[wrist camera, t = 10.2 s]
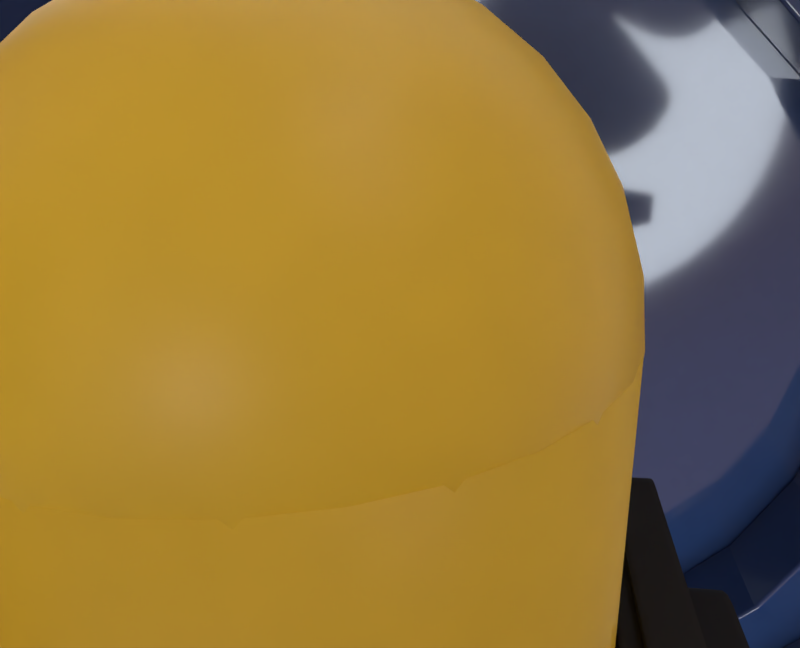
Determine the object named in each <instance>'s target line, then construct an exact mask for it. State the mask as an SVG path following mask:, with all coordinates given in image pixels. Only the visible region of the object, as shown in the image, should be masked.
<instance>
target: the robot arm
mask: <svg viewBox="0 0 800 648" xmlns="http://www.w3.org/2000/svg"><path fill="white" fill-rule="evenodd" d="M615 648H750V647H749V645H748V642H747V640H746V637H745V634H744V632H743V629H742V627H741V624H740V622H739V619H738V617H737V614H736V612H735V609H734V606H733V604H732V602H731V600H730V598H729V596H728V595H727V594H726V593H725V592H724V591H723V590H712V589H700V588H688V587H687V584H686V580H685V577H684V574H683V571H682V568H681V565H680V562H679V559H678V555H677V552H676V549H675V546H674V543H673V540H672V537H671V534H670V530H669V527H668V524H667V521H666V518H665V515H664V512H663V509H662V506H661V502H660V499H659V496H658V493H657V490H656V487H655V484H654V482H653V480H652V479H651V478H634V477H632V481H631V491H630V501H629V511H628V521H627V531H626V542H625V552H624V562H623V572H622V582H621V592H620V603H619V613H618V623H617V633H616V643H615Z"/></svg>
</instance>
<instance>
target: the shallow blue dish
mask: <svg viewBox="0 0 800 648" xmlns="http://www.w3.org/2000/svg"><path fill="white" fill-rule="evenodd" d="M50 1H52V0H0V43H1V42H2V41H3V40H4V39H5V38H6V37H7V36H8V35H9V34H10V33H11V32H12V31H13V30H14V29H15V28H16V27H17V26H18V25H19V24H20V23H21V22H22V21H23V20H24V19H25V18H26V17H28V16H29V15H30V14H31V13H32V12H33V11H35V10H36V9H38V8H40V7H42V6H43V5H45V4H47V3H48V2H50ZM475 1H477V2H479V3H480V4H482V5H484V6H485V7H486V8H487V9H488V10H489V11H491V12H492V13H493V14H494V15H495V16H496V17H498V18H499V19H500V20H501V21H502V22H503V23H505V24H506V25H507V26H508V27H509V28H510V29H512V30H513V31H514V32H515V33H516V34H518V35H519V36H520V37H521V38H522V39H523V40H525V41H526V42H527V43H528V44H529V45H530V46H532V47H533V48H534V49H535V50H536V51H537V52H539V53H540V54H541V55H542V56H543V57H544V58H545V59H546V61H547V62H548V63H549V65H550V66H551V67H552V69H553V70H554V71H555V73H556V74H557V75H558V76H559V78H560V79H561V80H562V82H563V83H564V84H565V86H566V87H567V88H568V89H569V91H570V92H571V93H572V95H573V96H574V97H575V99H576V100H577V101H578V103H579V104H580V105H581V106H582V108H583V109H584V110H585V112H586V113H587V114H588V116H589V117H590V118H591V120H592V122H593V124H594V127H595V129H596V131H597V133H598V135H599V137H600V139H601V141H602V143H603V146H604V148H605V150H606V152H607V154H608V156H609V158H610V160H611V162H612V165H613V167H614V169H615V171H616V173H617V175H618V177H619V179H620V181H621V183H622V186H623V189H624V193H625V197H626V202H627V206H628V210H629V214H630V219H631V223H632V227H633V231H634V236H635V240H636V244H637V249H638V253H639V257H640V262H641V266H642V271H643V275H644V317H645V354H644V359H643V369H642V379H641V389H640V399H639V409H638V420H637V430H636V440H635V450H634V460H633V470H632V477H634V478H651V479H652V480H653V482H654V484H655V487H656V490H657V493H658V496H659V499H660V502H661V506H662V509H663V512H664V515H665V518H666V521H667V524H668V527H669V530H670V534H671V537H672V540H673V543H674V546H675V549H676V552H677V555H678V559H679V562H680V565H681V568H682V571H683V574H684V577H685V580H686V584H687V587H688V588H700V589H712V590H723V591H724V592H725V593H726V594H727V595H728V596H729V598H730V600H731V602H732V604H733V606H734V609H735V612H736V614H737V617H738V619H739V622H740V624H741V627H742V629H743V632H744V634H745V637H746V640H747V642H748V645H749V647H750V648H800V0H475Z"/></svg>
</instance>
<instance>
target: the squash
mask: <svg viewBox="0 0 800 648" xmlns="http://www.w3.org/2000/svg"><path fill="white" fill-rule="evenodd" d="M644 354H645V317H644V275H643V271H642V266H641V262H640V257H639V253H638V249H637V244H636V240H635V236H634V231H633V227H632V223H631V219H630V214H629V210H628V206H627V202H626V197H625V193H624V189H623V186H622V183H621V181H620V179H619V177H618V175H617V173H616V171H615V169H614V167H613V165H612V162H611V160H610V158H609V156H608V154H607V152H606V150H605V148H604V146H603V143H602V141H601V139H600V137H599V135H598V133H597V131H596V129H595V127H594V124H593V122H592V120H591V118H590V117H589V116H588V114H587V113H586V112H585V110H584V109H583V108H582V106H581V105H580V104H579V103H578V101H577V100H576V99H575V97H574V96H573V95H572V93H571V92H570V91H569V89H568V88H567V87H566V86H565V84H564V83H563V82H562V80H561V79H560V78H559V76H558V75H557V74H556V73H555V71H554V70H553V69H552V67H551V66H550V65H549V63H548V62H547V61H546V59H545V58H544V57H543V56H542V55H541V54H540V53H539V52H537V51H536V50H535V49H534V48H533V47H532V46H530V45H529V44H528V43H527V42H526V41H525V40H523V39H522V38H521V37H520V36H519V35H518V34H516V33H515V32H514V31H513V30H512V29H510V28H509V27H508V26H507V25H506V24H505V23H503V22H502V21H501V20H500V19H499V18H498V17H496V16H495V15H494V14H493V13H492V12H491V11H489V10H488V9H487V8H486V7H485V6H484V5H482V4H480V3H479V2H477V1H475V0H52V1H50V2H48V3H47V4H45V5H43V6H42V7H40V8H38V9H36V10H35V11H33V12H32V13H31V14H30V15H29V16H28V17H26V18H25V19H24V20H23V21H22V22H21V23H20V24H19V25H18V26H17V27H16V28H15V29H14V30H13V31H12V32H11V33H10V34H9V35H8V36H7V37H6V38H5V39H4V40H3V41H2V42H1V43H0V648H615V643H616V633H617V623H618V613H619V603H620V592H621V582H622V572H623V562H624V552H625V542H626V531H627V521H628V511H629V501H630V491H631V481H632V470H633V460H634V450H635V440H636V430H637V420H638V409H639V399H640V389H641V379H642V369H643V359H644Z"/></svg>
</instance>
